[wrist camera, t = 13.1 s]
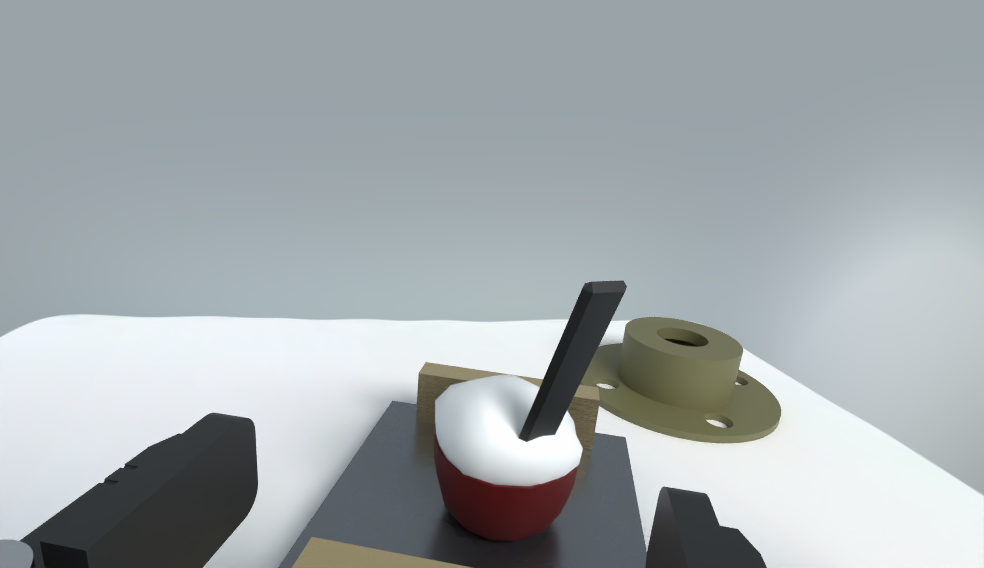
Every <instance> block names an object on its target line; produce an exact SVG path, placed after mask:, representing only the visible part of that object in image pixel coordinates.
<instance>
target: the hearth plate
mask: <svg viewBox="0 0 984 568" xmlns="http://www.w3.org/2000/svg"><path fill="white" fill-rule="evenodd" d="M496 375H509V374H502V373H495V372H489V371H482V370H475V369H468V368H461V367H455V366H448V365H441V364H434V363H427V362H426V363H425V364H424V366H423V367H422V369H421V371H420V372H419V378H418V396H417V405H416V404H409V403H403V402H397V401H392V402H391V404H390V405H389V407H388V408H387V410H386V411H385V413H384V414H383V416H382V417H381V418H380V420H379V421H378V423H377V424H376V426H375V427H374V429H373V430H372V432H371V433H370V435H369V436H368V437H367V439H366V440H365V442H364V443H363V445H362V446H361V448H360V449H359V451H358V452H357V454H356V455H355V456H354V458H353V459H352V461H351V462H350V464H349V465H348V467H347V468H346V470H345V471H344V473H343V474H342V475H341V477H340V478H339V480H338V481H337V483H336V484H335V486H334V487H333V489H332V490H331V492H330V493H329V494H328V496H327V497H326V499H325V500H324V502H323V503H322V505H321V506H320V508H319V509H318V510H317V512H316V513H315V515H314V516H313V518H312V519H311V521H310V522H309V524H308V525H307V527H306V528H305V529H304V531H303V532H302V534H301V535H300V537H299V538H298V540H297V541H296V543H295V544H294V546H293V547H292V548H291V550H290V551H289V553H288V554H287V556H286V557H285V559H284V560H283V562H282V563H281V565H280V566H279V567H278V568H645V565H646V556H647V552H646V546H645V541H644V536H643V530H642V525H641V519H640V514H639V508H638V503H637V498H636V492H635V487H634V481H633V476H632V470H631V465H630V460H629V454H628V449H627V443H626V438H625V437H619V436H613V435H607V434H600V433H595V426H596V420H597V414H598V408H599V402H600V398H599V389H598V387H591V386H584V385H579V387H578V389H577V391H576V393H575V395H574V397H573V399H572V401H571V403H570V405H569V407H568V409H567V411H568V413H569V414H570V416H571V418H572V419H573V421H574V425H575V431H576V436H577V438H578V440H579V442H580V444H581V446H582V448H583V450H582V454H581V458H580V463H579V465H578V468H577V473H576V478H575V482H574V486H573V488H572V491H571V493H570V496H569V498H568V500H567V502H566V504H565V506H564V508H563V509H562V511H561V513H560V514H559V515H558V516H557V517H556V519H555V520H554V521H553V522H552V523H551V524H550V525H549V526H548V527H547V528H546V529H545V530H543V531H542V532H540V533H538V534H536V535H533V536H530V537H527V538H524V539H521V540H518V541H499V540H489V539H487V538H484V537H482V536H479V535H477V534H474V533H472V532H469V531H467V530H466V529H465V528H464V527H463V526H462V525H461V524H460V523H459V522H458V521H457V520H456V519H455V518H454V517H453V516H452V515H451V513H450V512H449V511H448V510H447V509H446V508H445V505H444V501H443V497H442V493H441V489H440V485H439V481H438V477H437V473H436V467H435V461H434V436H435V434H436V425H435V400H436V399H437V398H438V397H439V396H440V395H441V394H442V393H443V392H444V391H445V390H446V389H447V388H448V387H449V386H450V385H454V384H458V383H462V382H466V381H470V380H475V379H480V378H485V377H491V376H496ZM514 376H516V375H514ZM517 377H519V378H522V379H524V380H526V381H528V382H530V383H532V384H534V385H536V386H538V387H540V386H541V384H542V381H543V379H536V378H529V377H523V376H517Z"/></svg>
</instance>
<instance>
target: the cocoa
mask: <svg viewBox="0 0 984 568" xmlns="http://www.w3.org/2000/svg"><path fill="white" fill-rule="evenodd" d="M626 287H627V286H626V285H625V283H624V281H602V282H601V281H600V282H589V283H585V285H584V286H583V288H582V291H581V293H580V295H579V297H578V300H577V302H576V305H575V307H574V309H573V311H572V314H571V316H570V318H569V321H568V323H567V325H566V328H565V330H564V332H563V335H562V337H561V339H560V342H559V344H558V346H557V349H556V351H555V353H554V356H553V358H552V360H551V363H550V365H549V367H548V370H547V372H546V374H545V377H544V379H543V381H542V384H541V386H540V387H538V386H536V385H534V384H532V383H530V382H528V381H526V380H524V379H522V378H519V377H517V376H514V375H496V376H491V377H485V378H480V379H475V380H470V381H466V382H462V383H458V384H454V385H450V386H449V387H448V388H447V389H446V390H445V391H444V392H443V393H442V394H441V395H440V396H439V397H438V398H437V399H436V400H435V425H436V434H435V436H434V461H435V467H436V473H437V477H438V481H439V485H440V489H441V493H442V497H443V501H444V505H445V508H446V509H447V510H448V511H449V512H450V513H451V515H452V516H453V517H454V518H455V519H456V520H457V521H458V522H459V523H460V524H461V525H462V526H463V527H464V528H465V529H466V530H467V531H469V532H472V533H474V534H477V535H479V536H482V537H484V538H487V539H489V540H499V541H518V540H521V539H524V538H527V537H530V536H533V535H536V534H538V533H540V532H542V531H543V530H545V529H546V528H547V527H548V526H549V525H550V524H551V523H552V522H553V521H554V520H555V519H556V517H557V516H558V515H559V514H560V513H561V511H562V509H563V508H564V506H565V504H566V502H567V500H568V498H569V496H570V493H571V491H572V488H573V486H574V482H575V478H576V473H577V468H578V465H579V463H580V458H581V454H582V450H583V448H582V446H581V444H580V442H579V440H578V438H577V436H576V431H575V425H574V421H573V419H572V418H571V416H570V414H569V413H568V411H567V409H568V407H569V405H570V403H571V401H572V399H573V397H574V395H575V393H576V391H577V389H578V387H579V385H580V383H581V381H582V379H583V377H584V375H585V373H586V371H587V368H588V366H589V364H590V362H591V360H592V358H593V356H594V354H595V352H596V350H597V348H598V346H599V344H600V342H601V340H602V338H603V336H604V334H605V332H606V329H607V327H608V325H609V323H610V321H611V319H612V317H613V315H614V313H615V311H616V309H617V307H618V305H619V303H620V301H621V298H622V297H623V295H624V293H625V290H626Z"/></svg>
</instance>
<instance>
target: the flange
mask: <svg viewBox="0 0 984 568" xmlns="http://www.w3.org/2000/svg"><path fill="white" fill-rule="evenodd" d="M742 353H743V348H742V346H741V345H740V344H739V343H738V342H737V341H736V340H735V339H733V338H732V337H730V336H728V335H727V334H725V333H723V332H720V331H718V330H715V329H713V328H710V327H707V326H704V325H701V324H697V323H693V322H689V321H684V320H679V319H672V318H661V317H647V318H638V319H634V320H632V321H630V322H628V323H627V324H626V327H625V333H624V338H623V343H620V344H610V345H604V346H600V347H598V348H597V350H596V352H595V354H594V356H593V358H592V360H591V362H590V364H589V366H588V368H587V371H586V373H585V375H584V377H583V379H582V381H581V383H580V385H584V386H591V387H598V389H599V398H600V402H599V405H600V406H601V407H602V408H604V409H606V410H607V411H609V412H611V413H612V414H614V415H616V416H618V417H620V418H622V419H624V420H626V421H628V422H631V423H633V424H635V425H638V426H640V427H643V428H646V429H649V430H652V431H655V432H658V433H662V434H665V435H669V436H673V437H677V438H682V439H687V440H693V441H700V442H709V443H741V442H748V441H753V440H757V439H760V438H763V437H765V436H767V435H769V434H770V433H772V432H773V431H774V430H775V429H776V428H777V426H778V424H779V420H780V416H781V407H780V404H779V402H778V401H777V399H776V398H775V396H774V395H773V394H772V393H771V392H770V391H769V390H768V389H767V388H766V387H765V386H764V385H762V384H761V383H760V382H758V381H757V380H756V379H754V378H752V377H751V376H749V375H747V374H746V373H744V372H742V371H740V370H739V365H740V361H741V357H742ZM735 382H738V383H741V384H742V385H736V384H735ZM600 383H602V384H608V385H611V386H613V387H615V388H616V389H605V388H601V387H599V386H597V385H596V384H600ZM706 420H716V421H719V422H722V423H724V424H726V425H727V426H729V427H730V428H721V427H717V426H714V425H712V424H710V423H708V422H707V421H706Z"/></svg>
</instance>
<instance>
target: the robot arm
mask: <svg viewBox="0 0 984 568" xmlns="http://www.w3.org/2000/svg"><path fill="white" fill-rule="evenodd" d="M257 489H258V475H257V455H256V436H255V426H254V423H253V421H252V420H251V419H249V418H244V417H237V416H231V415H225V414H219V413H210V414H208V415H206V416H205V417H203V418H202V419H201V420H199V421H198V422H197V423H196V424H194V425H193V426H192V427H190V428H189V429H188V430H186V431H185V432H184V433H182V434H177V435H175V436H172V437H170V438H168V439H165V440H163V441H161V442H159V443H156V444H154V445H152V446H150V447H148V448H147V449H145V450H144V451H143V452H141V453H140V454H138V455H137V456H136V457H134V458H133V459H132V460H130V461H129V462H127V463H126V464H125V467H124V468H119V469H118V470H116V471H115V472H114V473H112V474H111V475H109V476H108V477H107V478H105V481H104V483H98V484H97V485H96V486H94V487H93V488H92V489H90V490H89V491H87V492H86V493H85V494H83V495H82V496H81V497H79V498H78V499H76V500H75V501H74V502H72V503H71V504H70V505H68V506H67V507H65V508H64V509H63V510H61V511H60V512H59V513H57V514H56V515H54V516H53V517H52V518H50V519H49V520H48V521H46V522H45V523H43V524H42V525H41V526H39V527H38V528H37V529H35V530H34V531H32V532H31V533H30V534H28V535H27V536H26V537H24V538H23V539H21V540H20V541H16V540H0V568H203V566H204V565H205V564H206V563H207V562H208V561H209V560H210V558H211V557H212V556H213V555H214V554H215V553H216V551H217V550H218V549H219V548H220V547H221V546H222V544H223V543H224V542H225V541H226V540H227V539H228V537H229V536H230V535H231V534H232V533H233V532H234V531H235V529H236V528H237V527H238V526H239V525H240V524H241V522H242V521H243V520H244V519H245V518H246V516H247V515H248V513H249V512H250V510H251V508H252V506H253V504H254V501H255V498H256V494H257ZM645 568H767V567H766V565H765V563H764V561H763V558H762V556H761V554H760V553H759V552H758V551H757V550H756V549H755V547H754V546H753V545H752V544H751V543H750V542H749V541H748V540H747V539H746V538H745V537H744V536H743V534H742V533H741V532H740V531H739V530H738V529H735V528H729V527H723V526H720V525H719V523H718V520H717V518H716V515H715V512H714V510H713V507H712V504H711V502H710V499H709V497H708V496H707V494H705V493H700V492H694V491H687V490H681V489H675V488H669V487H662V489H661V491H660V493H659V497H658V502H657V507H656V512H655V516H654V521H653V526H652V531H651V536H650V541H649V546H648V551H647V556H646V565H645Z"/></svg>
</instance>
